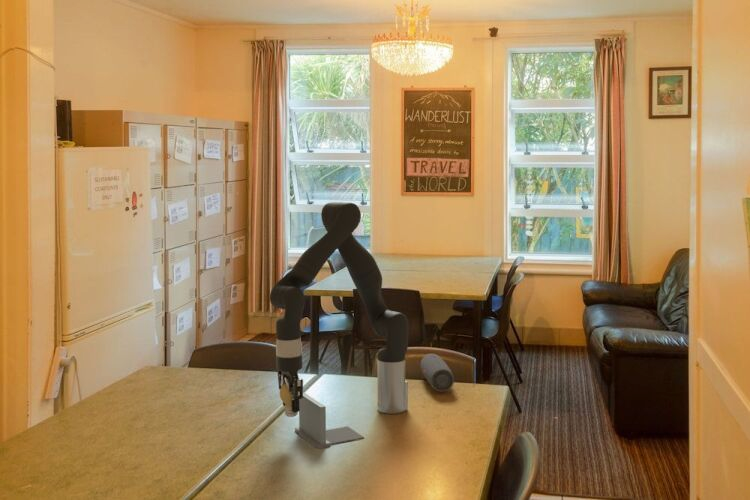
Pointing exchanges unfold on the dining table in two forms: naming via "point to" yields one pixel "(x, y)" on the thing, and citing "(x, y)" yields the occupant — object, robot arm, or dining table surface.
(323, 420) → the screen
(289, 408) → the yellow light bulb
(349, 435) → the mat
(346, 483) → the dining table surface
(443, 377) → the bluetooth speaker
